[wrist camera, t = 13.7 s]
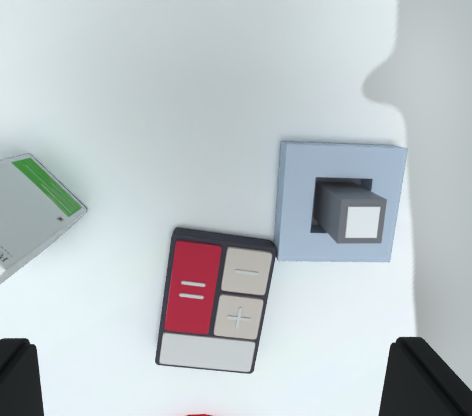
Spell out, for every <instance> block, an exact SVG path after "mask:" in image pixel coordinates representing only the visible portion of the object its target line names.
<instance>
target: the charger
mask: <svg viewBox="0 0 472 416" xmlns="http://www.w3.org/2000/svg"><path fill="white" fill-rule="evenodd" d="M386 204H387V199H385V198H383V197H381V196H379V195H377V194H375V193H373V192H371V191H369V190H367V189H365V188H364V187H362V186H360V185H358V184H356V183H354V182H316V188H315V201H314V214H313V218H314V219H315V220H316V221H317V222H318V223H319V225H320V226H321V227H322V228H323V229H324V230H325V231H326V232H327V233H328V234H329V235H330V236H331V237H332V238H333V239H334V241H335V242H336V243H337V244H352V243H381V242H382V235H383V227H384V219H385V211H386Z"/></svg>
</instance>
